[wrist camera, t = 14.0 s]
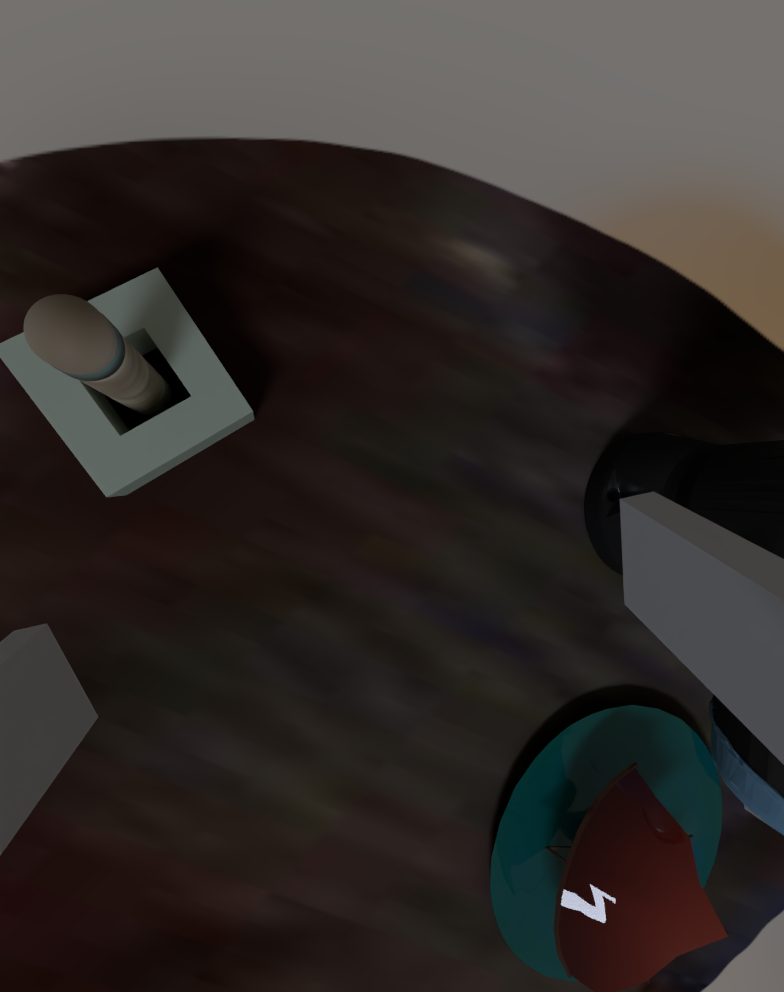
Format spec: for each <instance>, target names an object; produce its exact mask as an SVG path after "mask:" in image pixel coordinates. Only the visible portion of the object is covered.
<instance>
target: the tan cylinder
mask: <svg viewBox="0 0 784 992" xmlns="http://www.w3.org/2000/svg"><path fill="white" fill-rule="evenodd" d="M24 335H25V338H26V341H27V343H28V345H29V347H30V348H31V350H32V351H33V352H34V353H35V354H36V355H37V356H38V357H39V358H41V359H42V360H43V361H45V362H47V363H49V364H50V365H51V366H53V367H54V368H55V369H57V370H59V371H61V372H63V373H64V374H66V375H68V376H70V377H72V378H75V379H78V380H79V381H81V382H83V383H85V384H87V385H88V386H90V387H92V388H94V389H96V390H98V391H99V392H101V393H103V394H105V395H107V396H108V397H110V398H112V399H114V400H116V401H117V402H119V403H121V404H123V405H125V406H127V407H128V408H130V409H132V410H134V411H136V412H137V413H139V414H142V415H146V416H154V415H158V414H161V413H162V412H164V411H165V410H167V408H168V407H169V406H170V404H171V401H172V391H171V388H170V386H169V384H168V383H167V382H166V381H165V380H164V379H163V377H162V376H161V375H160V374H159V373H158V372H157V371H156V370H155V369H154V368H153V367H152V366H151V365H150V364H149V363H148V362H147V361H146V360H145V359H144V358H143V357H142V356H141V355H140V353H139V352H138V351H137V350H136V349H135V348H134V347H133V346H132V345H131V344H130V343H129V342H128V341H127V340H126V339H125V338H124V337H123V336H122V335H121V334H120V332H119V331H118V329H117V328H116V327H115V326H114V325H113V324H112V323H111V322H110V321H109V320H108V319H107V318H106V317H105V316H104V315H103V314H102V313H101V312H99V311H98V310H97V309H96V308H95V307H94V306H93V305H92V304H90V303H89V302H87V301H86V300H83V299H81V298H79V297H76V296H72V295H65V294H58V295H51V296H47V297H45V298H43V299H41V300H39V301H38V302H36V303H35V304H34V305H33V306H32V307H31V308H30V309H29V311H28V313H27V315H26V317H25V320H24Z"/></svg>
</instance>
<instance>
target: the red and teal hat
mask: <svg viewBox="0 0 784 992" xmlns="http://www.w3.org/2000/svg"><path fill="white" fill-rule="evenodd" d="M721 826H722V797H721V787H720V782H719V777H718V772H717V769H716V766H715V763H714V761H713V758H712V756H711V755H710V753H709V751H708V749H707V747H706V746H705V744H704V743H703V741H702V740H701V739H700V737H699V736H698V735H697V734H696V733H695V732H694V731H693V730H692V729H691V728H690V727H689V726H688V725H687V724H686V723H685V722H684V721H683V720H682V719H680V718H678V717H675V716H673V715H671V714H669V713H667V712H664V711H662V710H660V709H657V708H650V707H644V706H637V705H628V706H622V707H616V708H610V709H606V710H603V711H600V712H597V713H594V714H591V715H589V716H587V717H585V718H583V719H581V720H579V721H577V722H575V723H574V724H572V725H570V726H569V727H568V728H566V729H565V730H564V731H562V732H561V733H560V734H559V735H558V736H557V737H555V738H554V739H553V740H552V741H551V742H550V743H549V744H548V745H547V746H546V747H545V748H544V749H543V750H542V751H541V753H540V754H539V755H538V756H537V757H536V758H535V759H534V761H533V762H532V763H531V765H530V766H529V768H528V769H527V771H526V772H525V774H524V775H523V776H522V778H521V779H520V781H519V782H518V784H517V785H516V786H515V788H514V791H513V793H512V795H511V798H510V800H509V803H508V805H507V807H506V810H505V812H504V814H503V817H502V819H501V821H500V825H499V829H498V833H497V837H496V841H495V845H494V849H493V853H492V857H491V880H490V891H491V898H492V904H493V910H494V913H495V917H496V920H497V923H498V927H499V929H500V931H501V934H502V936H503V938H504V939H505V941H506V943H507V944H508V945H509V947H510V948H511V950H512V951H513V952H514V953H515V954H516V955H517V956H518V957H519V958H520V959H521V960H522V961H523V962H524V963H525V964H527V965H528V966H530V967H532V968H533V969H535V970H536V971H538V972H540V973H541V974H543V975H544V976H548V977H553V978H558V979H562V980H567V981H580V982H581V983H583V984H584V985H586V986H587V987H589V988H590V989H592V990H593V991H594V992H617V991H619V990H622V989H625V988H628V987H631V986H634V985H637V984H640V983H643V982H646V981H647V982H648V984H649V983H650V982H649V979H650V978H651V977H652V976H654V975H655V974H656V973H657V972H659V971H660V970H661V969H662V968H663V967H665V966H666V965H667V964H668V963H669V962H671V961H672V960H673V959H674V958H675V957H677V956H679V955H681V954H684V953H687V952H689V951H692V950H694V949H697V948H699V947H702V946H704V945H707V944H710V943H712V942H715V941H717V940H720V939H722V938H725V937H732V938H733V935H732V934H729V933H728V932H727V931H726V930H725V929H724V928H723V926H722V924H721V922H720V920H719V918H718V916H717V914H716V913H715V911H714V909H713V907H712V905H711V903H710V901H709V899H708V897H707V895H706V894H705V892H704V890H703V889H704V887H705V884H706V882H707V879H708V877H709V874H710V872H711V869H712V867H713V864H714V862H715V857H716V853H717V848H718V843H719V839H720V834H721ZM725 931H726V932H727V933H726V932H725Z"/></svg>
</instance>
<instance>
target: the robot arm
mask: <svg viewBox="0 0 784 992" xmlns="http://www.w3.org/2000/svg"><path fill="white" fill-rule="evenodd" d="M585 520H586V527H587V531H588V535H589V538H590V540H591V543H592V545H593V547H594V549H595V551H596V552H597V554H598V555H599V557H600V558H601V559H602V561H603V562H604V563H605V564H606V565H607V566H608V567H610V568H611V569H612V570H614V571H615V572H617V573H619V574H621V575H623V584H624V604H625V605H626V606H627V607H628V608H629V609H630V610H631V611H632V612H633V613H634V614H635V615H636V616H637V617H638V618H639V619H640V620H641V621H642V622H643V623H644V624H645V625H646V626H647V627H648V628H649V629H650V630H651V631H652V632H653V633H654V634H655V635H656V636H657V637H658V638H659V639H660V640H661V641H662V642H663V643H664V644H665V645H666V646H667V647H668V648H669V649H670V650H671V651H672V652H673V653H674V654H675V655H676V657H677V658H678V659H679V660H680V661H681V662H682V663H683V664H684V665H685V666H686V667H687V668H688V669H689V670H690V671H691V672H692V673H693V674H694V675H695V676H696V677H697V678H698V679H699V680H700V681H701V682H702V683H703V684H704V685H705V686H706V687H707V688H708V689H709V690H710V691H711V692H712V693H713V698H712V699H711V701H710V705H709V714H710V718H711V721H712V729H711V753H712V758H713V761H714V763H715V765H716V766H717V768H718V771H719V773H720V775H721V777H722V779H723V780H724V782H725V783H726V785H727V786H728V787H729V788H730V790H731V791H732V792H733V793H734V794H735V795H736V796H737V797H738V798H739V799H740V800H741V801H742V802H743V803H744V804H745V805H746V806H747V807H748V808H749V809H750V810H751V811H752V812H753V813H755V814H756V815H757V816H758V817H759V818H761V819H762V820H763V821H765V822H766V823H767V824H768V825H770V826H771V827H773V828H774V829H775V830H777V831H778V832H780V833H781V834H782V835H784V440H780V441H767V442H755V443H743V444H730V445H717V444H713V443H708V442H704V441H700V440H696V439H691V438H687V437H683V436H681V435H678V434H674V433H668V432H655V433H646V434H639V435H634V436H630V437H628V438H625V439H623V440H621V441H620V442H618V443H616V444H615V445H614V446H613V447H611V448H610V449H609V450H608V451H607V452H606V453H605V454H604V455H603V457H602V458H601V459H600V461H599V462H598V464H597V465H596V467H595V469H594V471H593V473H592V476H591V478H590V481H589V484H588V488H587V492H586V498H585ZM97 718H98V716H97V714H96V712H95V710H94V708H93V707H92V705H91V703H90V701H89V699H88V697H87V696H86V694H85V692H84V690H83V688H82V686H81V685H80V683H79V681H78V679H77V677H76V676H75V674H74V672H73V670H72V668H71V666H70V665H69V663H68V661H67V659H66V657H65V656H64V654H63V652H62V650H61V648H60V646H59V645H58V643H57V641H56V639H55V637H54V636H53V634H52V632H51V630H50V628H49V626H48V625H47V624H43V625H38V626H34V627H29V628H25V629H20V630H15V631H13V632H12V633H11V634H10V635H8V636H7V637H6V638H5V639H4V640H2V641H1V642H0V855H1V854H2V852H3V851H4V850H5V848H6V847H7V845H8V844H9V842H10V841H11V840H12V838H13V837H14V835H15V834H16V833H17V831H18V830H19V828H20V827H21V825H22V824H23V823H24V821H25V820H26V818H27V817H28V816H29V814H30V813H31V811H32V810H33V809H34V807H35V806H36V804H37V803H38V801H39V800H40V799H41V797H42V796H43V794H44V793H45V792H46V790H47V789H48V787H49V786H50V784H51V783H52V782H53V780H54V779H55V777H56V776H57V775H58V773H59V772H60V770H61V769H62V767H63V766H64V765H65V763H66V762H67V760H68V759H69V758H70V756H71V755H72V753H73V752H74V750H75V749H76V748H77V746H78V745H79V743H80V742H81V741H82V739H83V738H84V736H85V735H86V733H87V732H88V731H89V729H90V728H91V726H92V725H93V724H94V722H95V721H96V719H97Z"/></svg>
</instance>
